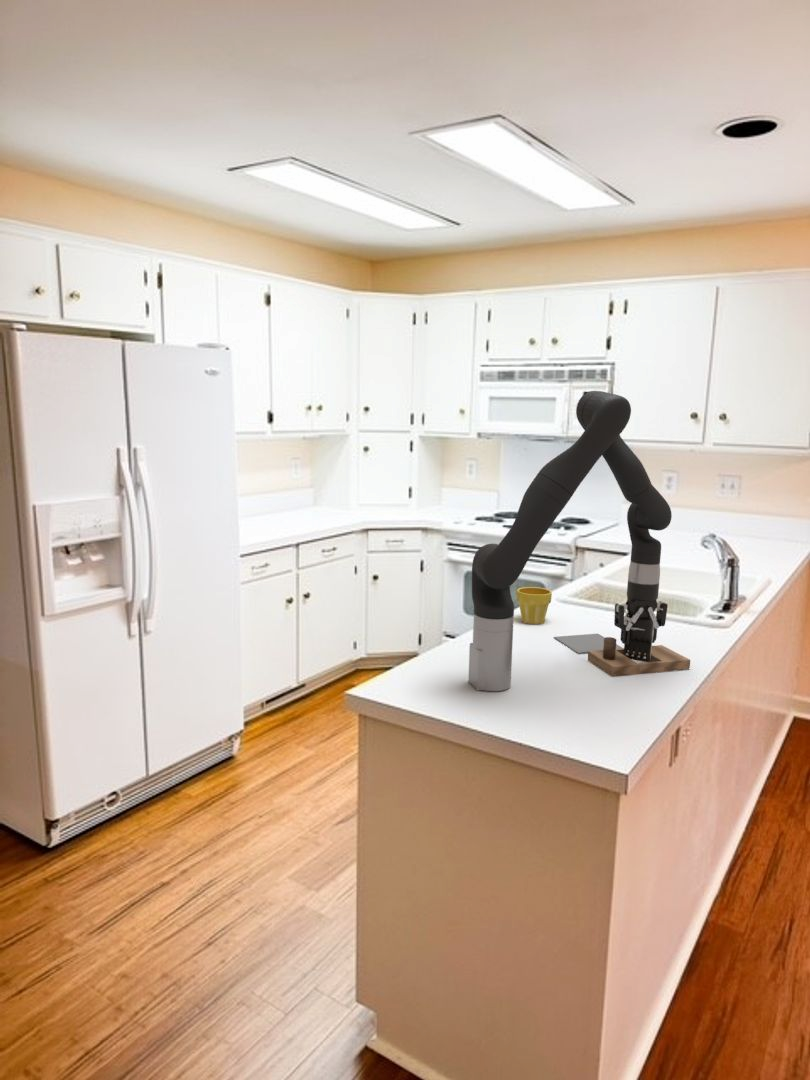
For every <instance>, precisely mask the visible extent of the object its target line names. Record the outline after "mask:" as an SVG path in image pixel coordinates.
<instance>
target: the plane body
mask: <svg viewBox="0 0 810 1080" xmlns="http://www.w3.org/2000/svg"><path fill="white" fill-rule="evenodd" d="M616 644H617V638H615V637H611V636H605V638H604V647H603V650H596V651H588V653H587V661H588V662H590V663H591V664H592V665H594V666H596V667H597V668H599V669H600V670H601V671H603V672H604V673H606V674H607V675H609V676H610V677H623V676H635V675H643V674H656V672H657V673H665V671H667V672H674V671H673V670H678V671H682V670H681V669H688V670H690V669H689V668H691V659H690V658H688V657H686V656H684V655H683V654H680V653H678V652H676V651H674V650H672V649H670V648H668V647H666V646H665V645H663V644H659V645H652V648H651V659H650V660H649V661H644V662H637V661H636V660H633V659H630V658H628V657H626V656H625V655H623V654H624V647H622V648H620V649H616Z"/></svg>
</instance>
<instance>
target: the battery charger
mask: <svg viewBox="0 0 810 1080" xmlns="http://www.w3.org/2000/svg"><path fill="white" fill-rule="evenodd" d="M629 618H632V617H631V616H629ZM627 623H628V621H627ZM629 631H630V638H629V644H628V645H625V644H623V648H624V654H623V655H625V656H626V657H628V658H630V659H631V660H633V661H639V662H646V661H649V660H650V659H651V648H652V646H653V643H652V641H653V633H654V622H653V621H652V619H651V618H650V617H649V618H639V619H638V620H637V621H636V622H635V623H634V624H633V625H632V626H631V628H630V630H629Z"/></svg>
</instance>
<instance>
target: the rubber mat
mask: <svg viewBox="0 0 810 1080" xmlns="http://www.w3.org/2000/svg"><path fill="white" fill-rule="evenodd" d="M554 638H555V639H554ZM604 638H606V636H603V635H601V634H600V633H588V634H587V633H586V634H576V635H575V634H574V635H562V636H560V635H559V636H553V639H554V640H556V641H557V640H558V641H557V642H559V643H560V642H561V643H560V644H562V645H563V644H564V645H563V646H565V647H566V646H567V648H568V649H569V648H570V650H571V651H572V650H573V651H572V652H573V653H576V654H577V655H585V654H588V651H596V650H603V647H604ZM620 648H623V646H621V645H618V644H617V643H616V649H620Z"/></svg>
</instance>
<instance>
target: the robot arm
mask: <svg viewBox="0 0 810 1080" xmlns="http://www.w3.org/2000/svg"><path fill="white" fill-rule="evenodd" d="M631 406H632V405H631V403H630V402H629V400H628V399H627V398H626V397H624V396H622V395H618V394H616V393H610V392H606V391H602V390H601V391H600V390H591V391H589V392H586V393H584V394H583V395H582V396H580V398H579V400H578V402H577V404H576V408H575V411H576V418H577V420H578V422H579V425H580V426H581V428H582V429H583V432H582V434H581V435H580V436H579V438H578V439H577V440H576V441H575V442H574V443H573V444H572V445H571V446H570V447H569V448H567V449H566V450H564V451H563V452H562V453H560V454H557V456H555V457H554V458H553V459H551V460H549V461H548V462H547V463H545V465H543V467H542V468H541V469H540V470H539V471H538V473H537V474H536V476H535V477H534V478H533V480H532V481H531V482H530V484H529V485H528V487H527V489H526V490H525V492H524V494H523V497H522V500H521V502H520V505H519V508H518V509H517V510H518V511H517V514H516V517H515V519H514V521H513V524H512V525H511V527H510V529H509V530H508V531H507V533H506V534H505V536H503V538H502V539H501V540H500V542H499V543H498V544H497V543H486V544H484V545H482V546H481V547H480V548H478V549H477V550H476V552H475V554H474V556H473V560H472V566H471V599H472V603H473V622H472V623H473V624H472V625H473V627H472V628H473V629H472V642H471V643H469V651H468V653H469V654H468V683H469V684H471V686H473V688H474V689H475V690H476V691H485V692H502V691H506V690H508V689H510V688H511V686H512V685H511V684H512V665H513V664H512V662H513V661H512V660H513V643H514V642H513V640H514V637H513V636H514V615H515V604H514V601H513V599H512V595H511V586H512V585H513V584H514V583H515V582H516V581H517V580H518V578H519V577H520V575H521V573H522V572H523V571H524V568H525V567H526V565H527V563H528V562H529V559H530V558H531V556H532V554H533V553H534V551H535V548H536V547H538V544H539V543H540V541H541V540H542V538H543V537H544V535H545V534H546V533H547V532H548V530H549V529H550V527H551V526H552V524H553V523H554V522H555V520H556V519H557V518H558V516H559V515H560V513H562V511H563V509H564V508H565V507H566V506H567V504H568V503H569V502H570V500H571V498H572V497H573V496H574V494H575V492H576V490H577V489H578V488H579V486H580V485H581V484H582V482H583V481H584V479H586V477H587V475H588V474H589V473H590V471H592V469H593V467H594V466H595V465H596V464H597V462H598V461H599V460H600V458H601V457H602V458H603V459H604V460H605V462H606V464H607V465H608V467H609V469H610V471H611V473H612V475H613V476H614V479H615V480H616V483H617V485H618V487H619V488H620V491H621V493H622V495H623V497H624V499H625V500H626V501H627V502H629V503H630V505H629V507H628V508H627V513H626V522H627V527H628V533H629V537H630V542H631V550H630V551H631V552H630V562H629V567H628V575H627V588H626V589H627V590H626V597H627V600H626V602H625V603H621V604H620V603H615V604H614V620H613V621H614V626H615V627H617V628H619V629H620V642H621V644H623V645H624V644H625V645H628V644H629V638H630V631H629V630H630V628H631V626H632V625H633V624H634V623H635V622H636V621H637V620H638V619H639V618H649V617H650V618H651V619H652V621H653V622H654V633H653V641H652V644H654V643H655V641H657V634H658V629H659V628H660V627H665V626H666V622H667V621H666V620H667V613H668V603H666V602H665V601H664V602H663V601H661V600H659V601H658V602H657V600H658V598H659V592H660V591H659V590H660V589H659V588H660V579H661V577H660V576H661V557H662V556H661V553H662V543H661V542H660V540H658V539H657V538H654V537H653V536H652V535H651V534H650V531H649V530H652V531H663V530H665V529H666V528H668V527H669V526H670V524H671V522H672V518H673V517H672V516H673V515H672V510H671V506H670V505H669V503H668V501H667V500H666V499H665V498H664V496H663V495H662V494H661V493H660V492H659V491H658V489H656V488H655V487H654V484H652V481H651V479H650V476H649V474H648V473H647V472H648V471H647V470H646V469H645V466H644V465H643V462H642V461H641V460H640V458H639V457H638V456H637V455H636V454H635V453H634V451H633V450H632V449H631V447H629V445H628V444H627V443H626V442H625V441H624V440H623V438H622V436H621V433H623V431H624V430H625V429H626V427H627V425H628V423H629V422H630V418H631V413H632V408H631ZM626 611H627V612H626ZM655 611H656V615H655V613H654V612H655ZM629 616H631V617H632V618H629ZM627 621H628V623H627Z"/></svg>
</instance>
